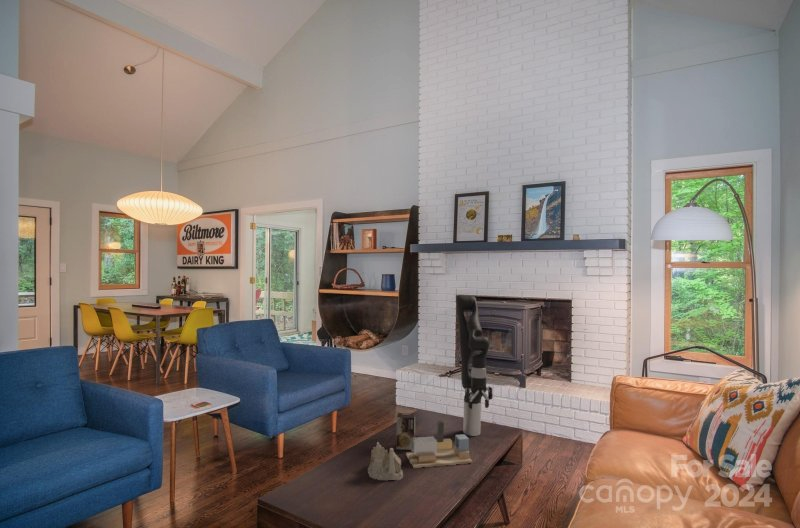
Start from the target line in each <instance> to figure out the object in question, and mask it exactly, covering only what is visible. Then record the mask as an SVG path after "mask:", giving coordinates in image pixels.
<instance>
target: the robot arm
mask: <svg viewBox="0 0 800 528" xmlns="http://www.w3.org/2000/svg"><path fill="white" fill-rule="evenodd" d="M456 310H457V311H456V312H457V318H458V319H457V320H458V329H459V331H458V333H459V337H458V338H459V348H460V349H459V350H460V359H461V361H460V362H461V363H460V364H461V372H460V373H461V386H462V388H463V389H464V396H463V420H462V421H463V424H462V425H463V427H462V428H463V429H462V431H463V433H462V434H465V435H466V436H469V437H477V436H480V435H481V427H482V426H481V423H482V420H481V419H482V397H483V398H484V408H485V409H488V408H489V406H490V400H493V388H492V387H491V386H487V368H486V367H487V355H488V352H489V349H490V340H489V338H488V337H487V336H483V329H482V325H481V322H480V315H479V308H478V302H477V298H476V297H475V296H474V295H459V296H457V297H456ZM465 313H471V315H470V317H469V318H468V320H467V319H466V316H465ZM476 351H479V352H480V353H478V354H475V353H476ZM470 362H471V371H470ZM486 392H487V393H488V395H487V393H486Z"/></svg>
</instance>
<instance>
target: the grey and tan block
mask: <svg viewBox="0 0 800 528" xmlns="http://www.w3.org/2000/svg"><path fill="white" fill-rule="evenodd" d="M436 439H437V438H435V437H434V436H421V437H420V436H419V437H415V438H411V450H410V451H411V452H413V454H414V456H415V458H416V459H417V461H418V463H428V462H436V455H435V453H437V441H436Z"/></svg>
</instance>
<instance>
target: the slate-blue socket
mask: <svg viewBox="0 0 800 528" xmlns="http://www.w3.org/2000/svg"><path fill="white" fill-rule="evenodd" d="M453 449H454V453H455V454H456V455H457V456H458V457H459V459H465V458H470V457H471V456H470V454H471V453H470V451H469V450H470V439H469V437H468V435H466V434H464V433H462V434H455V435H454V445H453ZM470 459H471V458H470Z"/></svg>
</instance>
